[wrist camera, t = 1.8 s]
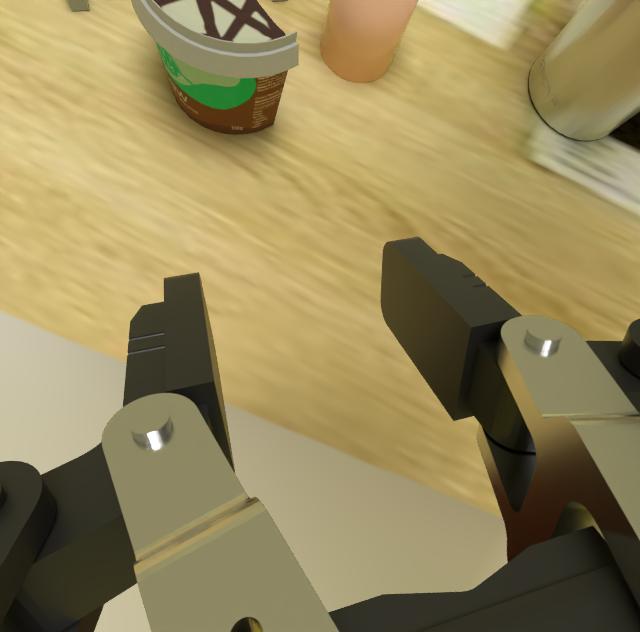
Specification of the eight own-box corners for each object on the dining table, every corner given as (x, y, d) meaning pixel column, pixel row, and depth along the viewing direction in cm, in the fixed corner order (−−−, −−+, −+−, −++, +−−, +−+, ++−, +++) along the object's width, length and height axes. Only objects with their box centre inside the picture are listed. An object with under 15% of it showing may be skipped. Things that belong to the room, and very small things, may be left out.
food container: (118, 54, 35) (71, -83, 25) (186, 18, 36) (167, -124, 27) (220, 181, 34) (212, 91, 25) (285, 138, 36) (303, 38, 26)
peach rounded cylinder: (381, 17, 39) (416, -79, 32) (399, 79, 39) (439, -3, 31) (313, 21, 38) (332, -78, 30) (329, 86, 37) (353, 1, 30)
